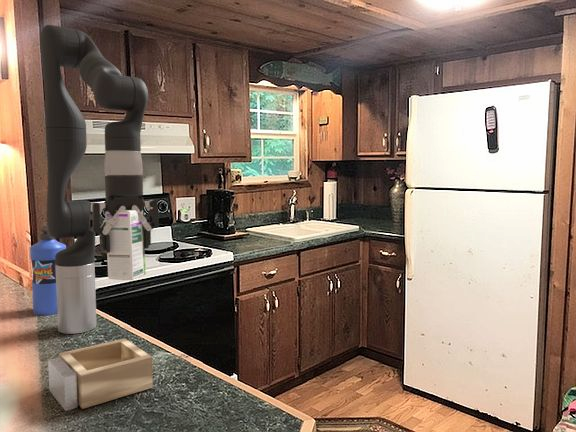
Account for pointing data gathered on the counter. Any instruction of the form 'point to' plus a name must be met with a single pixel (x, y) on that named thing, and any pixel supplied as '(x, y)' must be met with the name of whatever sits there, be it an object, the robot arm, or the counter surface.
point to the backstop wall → (63, 383)
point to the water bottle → (44, 273)
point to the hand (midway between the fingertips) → (126, 250)
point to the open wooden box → (109, 371)
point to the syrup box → (126, 247)
